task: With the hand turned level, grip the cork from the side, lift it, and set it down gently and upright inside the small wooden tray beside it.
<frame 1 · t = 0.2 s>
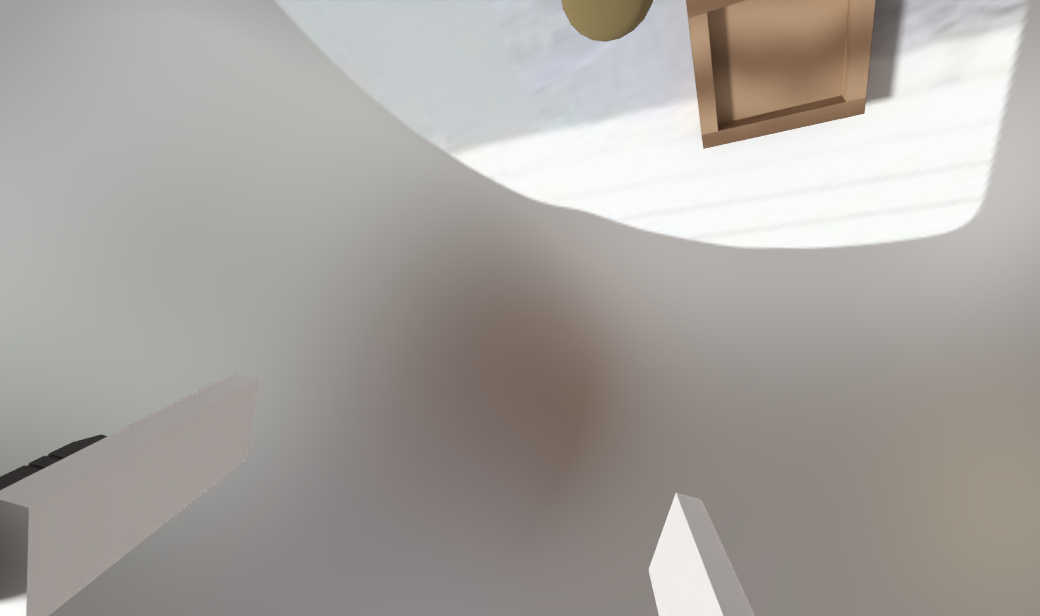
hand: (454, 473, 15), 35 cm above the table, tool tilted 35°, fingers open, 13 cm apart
tray: (774, 49, 36), on the table
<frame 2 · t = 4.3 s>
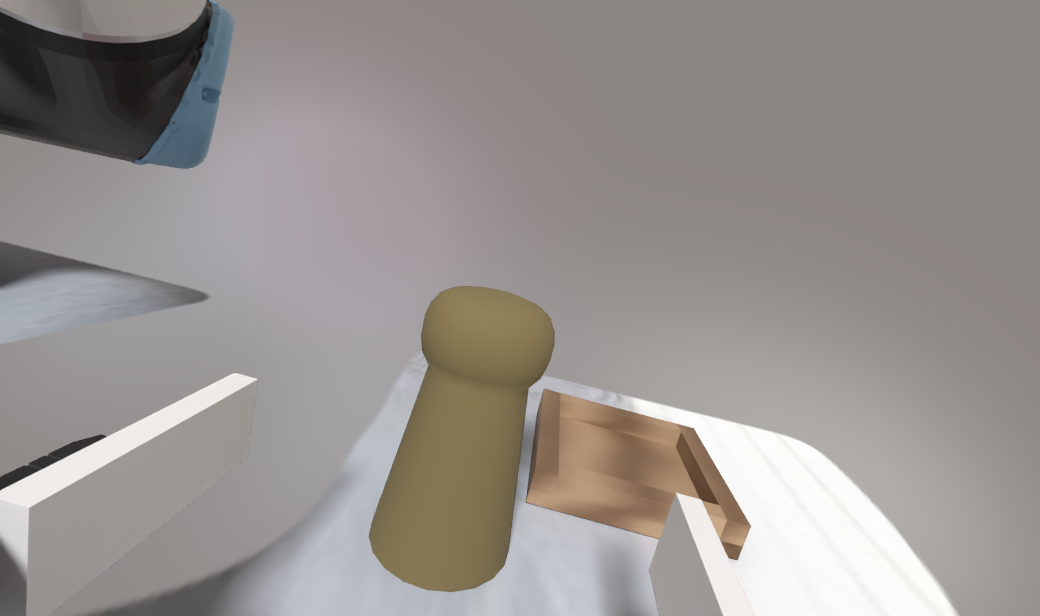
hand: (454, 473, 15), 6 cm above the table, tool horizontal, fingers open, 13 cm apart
cork: (439, 539, 21), on the table
tray: (618, 473, 30), on the table
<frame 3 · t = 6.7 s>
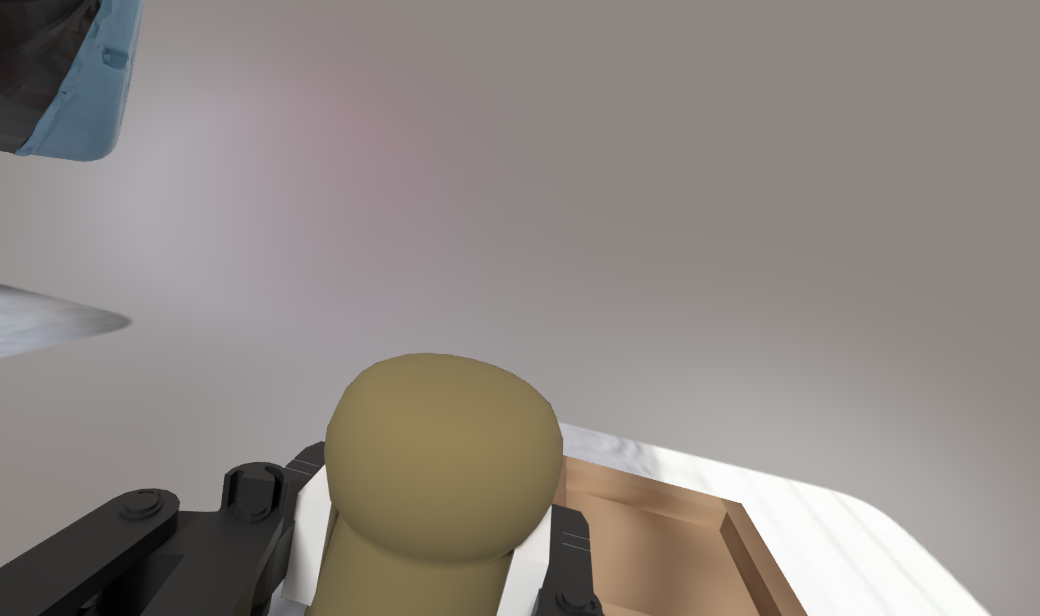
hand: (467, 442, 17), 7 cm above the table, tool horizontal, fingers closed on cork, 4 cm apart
tray: (648, 581, 22), on the table
when the fingers open (8 cm above the table, at t = 11.3 s): cork moves 1 cm, resting on tray.
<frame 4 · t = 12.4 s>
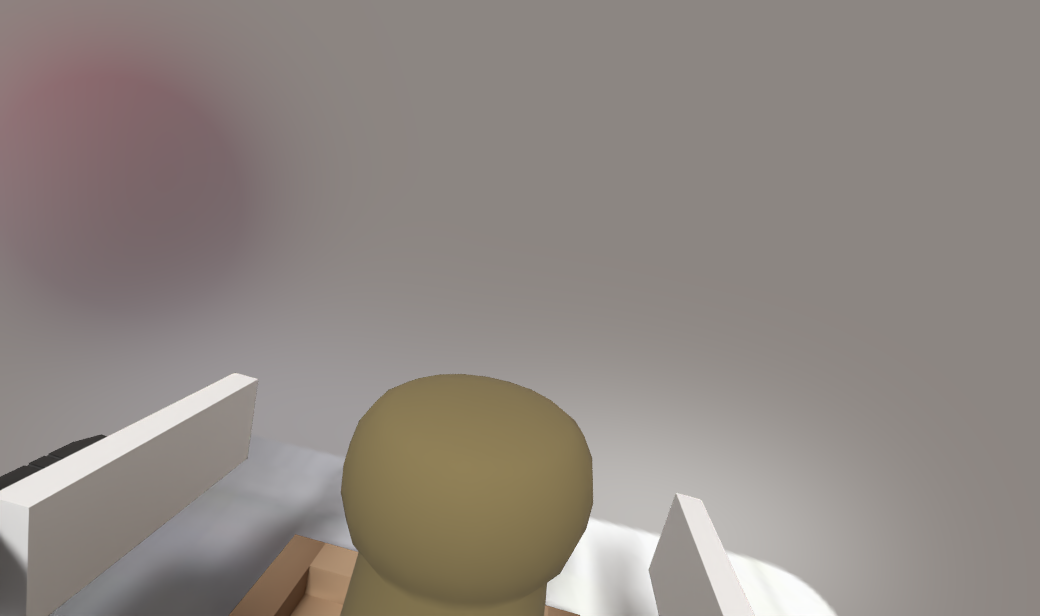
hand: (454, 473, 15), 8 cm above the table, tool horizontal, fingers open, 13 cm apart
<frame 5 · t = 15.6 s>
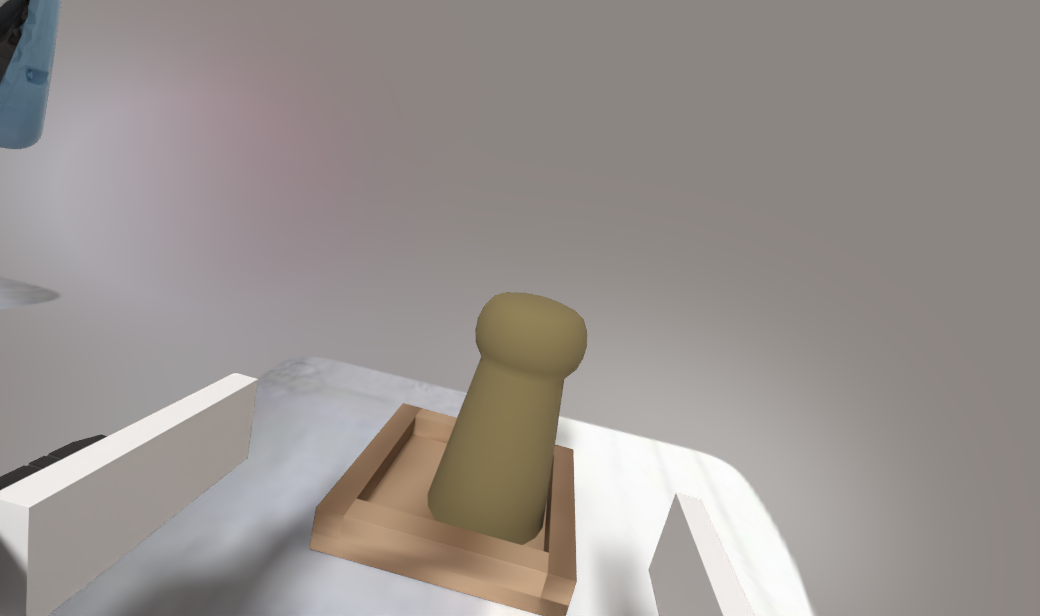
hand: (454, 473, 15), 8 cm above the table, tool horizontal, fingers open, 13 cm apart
cork: (485, 508, 25), point 1 cm above the table, touching tray
tray: (462, 506, 26), on the table
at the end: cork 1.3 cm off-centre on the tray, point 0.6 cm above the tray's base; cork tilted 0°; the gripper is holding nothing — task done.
